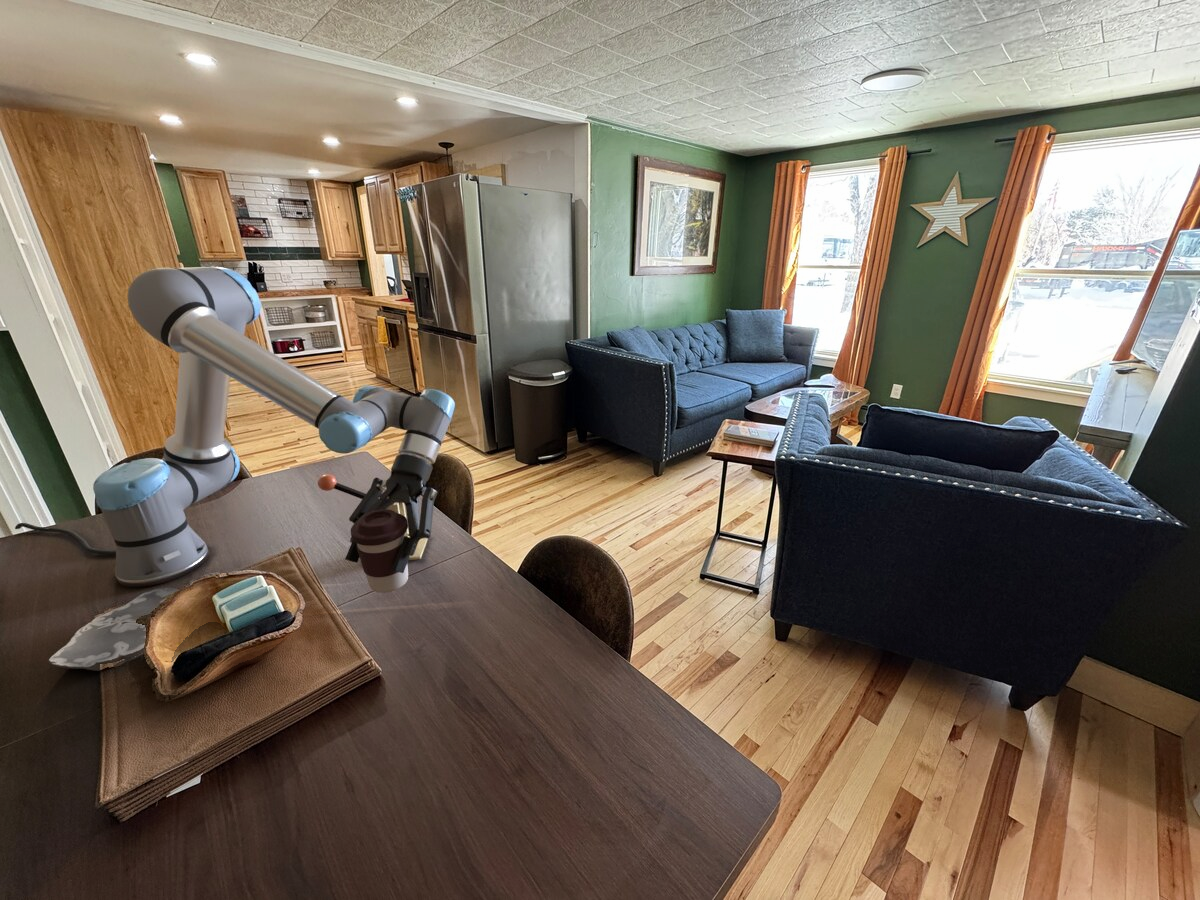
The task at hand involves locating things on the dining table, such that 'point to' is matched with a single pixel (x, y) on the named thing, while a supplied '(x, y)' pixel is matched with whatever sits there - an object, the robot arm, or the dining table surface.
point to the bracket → (421, 543)
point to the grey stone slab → (111, 635)
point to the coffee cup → (381, 548)
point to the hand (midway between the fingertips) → (374, 566)
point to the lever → (337, 486)
